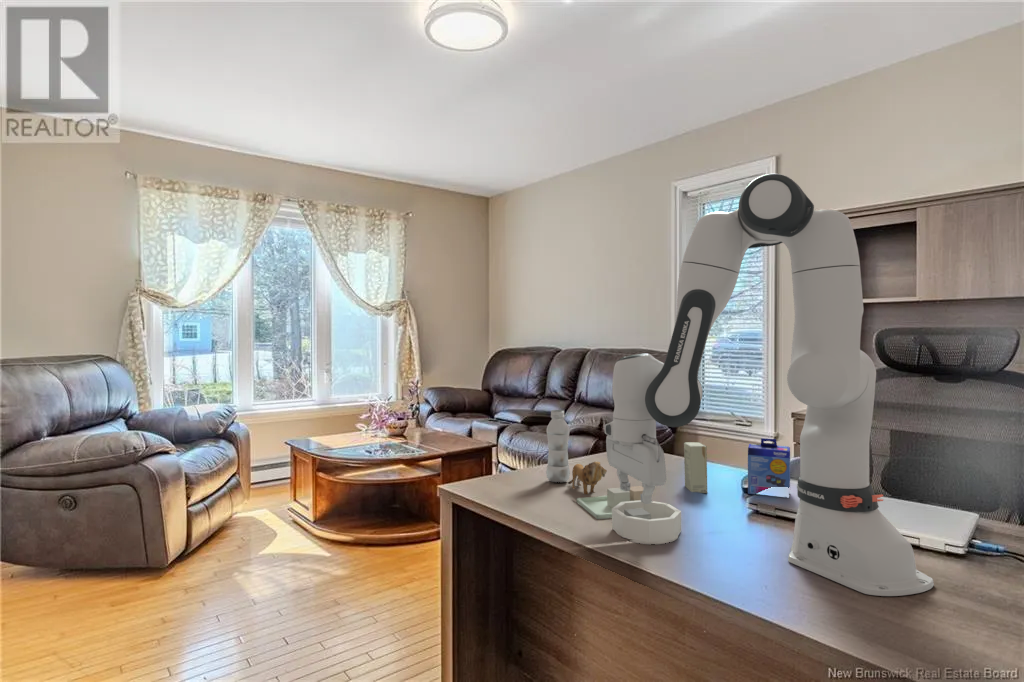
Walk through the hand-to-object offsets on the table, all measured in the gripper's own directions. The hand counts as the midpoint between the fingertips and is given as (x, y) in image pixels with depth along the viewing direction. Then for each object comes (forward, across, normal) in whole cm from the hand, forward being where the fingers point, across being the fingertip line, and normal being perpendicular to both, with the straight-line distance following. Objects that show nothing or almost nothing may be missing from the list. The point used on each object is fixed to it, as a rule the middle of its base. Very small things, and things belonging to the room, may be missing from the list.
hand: (635, 496), depth 119 cm
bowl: (+7, -1, -2) cm, 8 cm away
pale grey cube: (+7, +15, -3) cm, 16 cm away
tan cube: (+7, +14, -8) cm, 18 cm away
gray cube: (+7, -1, 0) cm, 7 cm away
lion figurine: (+8, +30, -1) cm, 31 cm away
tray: (+7, +15, -3) cm, 17 cm away
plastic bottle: (+7, +42, +3) cm, 42 cm away
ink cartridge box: (+8, +15, -45) cm, 48 cm away
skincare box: (+8, +23, -29) cm, 38 cm away
